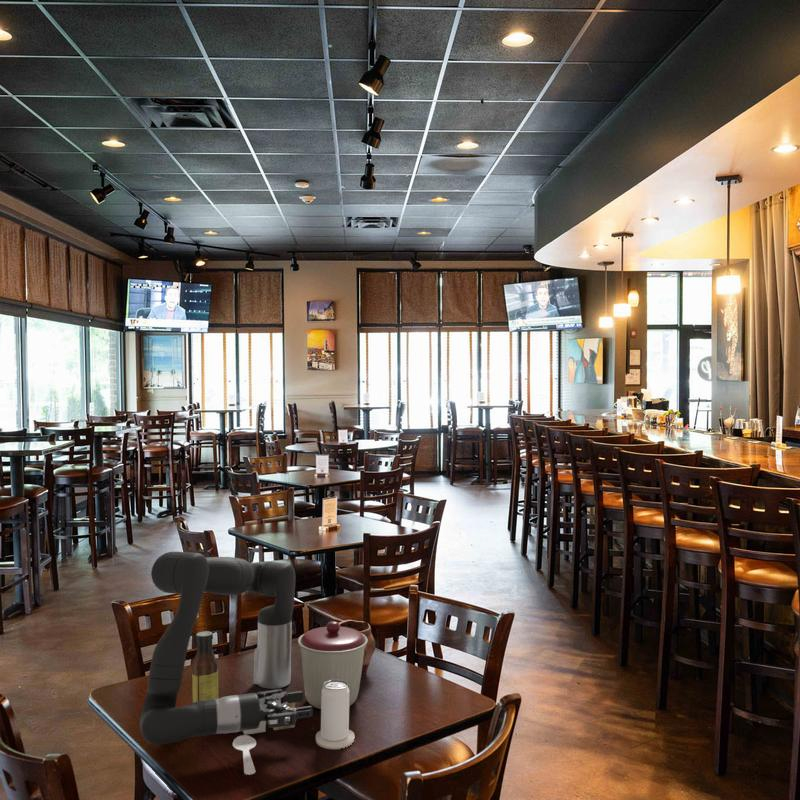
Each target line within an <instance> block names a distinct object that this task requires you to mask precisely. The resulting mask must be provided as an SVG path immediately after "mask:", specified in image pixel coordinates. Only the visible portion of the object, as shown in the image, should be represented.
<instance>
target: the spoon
mask: <svg viewBox="0 0 800 800" xmlns="http://www.w3.org/2000/svg"><path fill="white" fill-rule="evenodd" d="M256 745H257V740H256V739H255V738H254V737H252V736H250V735H248V734H247V735H244V734H242V735H239V736H237V737H235V738H234V739H233V742H232V747H233V748H234V749H235V750H237V751H241V752H242V760H243V761H242V762H243V773H244V774H245V775H249V776H250V775H253V774H255V773H256V768H255V765H254V762H253V758H252V756H251V753H250V750H252V749H254V748H255V747H256Z"/></svg>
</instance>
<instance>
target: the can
mask: <svg viewBox="0 0 800 800" xmlns="http://www.w3.org/2000/svg"><path fill="white" fill-rule="evenodd" d="M349 726H350V706H349V689H348V684H347V682H345V681H342V680H330V681H327V682H325V683H324V687H323V689H322V695H321V709H320V730H321V736H322V738H323V739H325V740H327V741H331V742H337V741H342V740H344V739H346V737H347V736H348V732H349V730H350V729H349V728H350V727H349Z"/></svg>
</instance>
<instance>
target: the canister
mask: <svg viewBox="0 0 800 800" xmlns="http://www.w3.org/2000/svg"><path fill="white" fill-rule="evenodd" d="M339 623H340V622H337V621H333V620H331V621H329V622H328V623H327V624H326V626H320V627H316V628H313V629H311V630H308V631H306V632H305V633H303V634H302V635H300V636H299V637H298V638H297V644H298V646H299V647H300V656H301V668H302V678H303V680H302V681H303V689H304V695H305V698H306V701H307V702H308V704H309V706H312V708H316V709H318V710H321V695H322V689H323V687H324V683H325V682H327V681H330V680H342V681H345V682H347V684H348V689H349V707H351V705H353V704H354V703H355V702H356V700H357V699H358V696H359V692H360V691H359V690H360V684H361V677H362V675H361V672H362V665H363V657H364V649H365V645H366V644H367V642H368V639H367V637H366V636H365V635H364V634H362V633H360V632H359V631H357V630H354V629H351V628H347V627H340V625H339Z"/></svg>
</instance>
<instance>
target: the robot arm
mask: <svg viewBox="0 0 800 800" xmlns="http://www.w3.org/2000/svg"><path fill="white" fill-rule="evenodd" d="M150 575H151V580H152V582H153V584H154V587H156V588H157V589H158V590H160V591H161V592H164V593H165V594H166V593H167V594H175V595H176V594H177V595H180V600H179V605H178V608H177V611H176V612H175V613H176V614H175V615H174V618H173V619H172V620H171V622H170V623H169V625H168V627H167V628H166V630H165V631H164V632H163V634H162V636H161V637H160V638H159V640H158V642H157V643H156V645H155V647H154V650H153V653H152V656H151V662H150V668H149V672H148V679H147V689H146V693H145V696H144V701H143V705H142V709H141V714H140V717H139V718H140V719H139V730H140V733H141V736H142V738H143V739H144V741H146V743H148V744H151V745H155V746H156V745H157V746H158V745H159V746H161V745H165V744H171V743H175V742H179V741H182V740H186V739H190V738H193V737H202V736H210V735H211V736H212V735H216V734H217V735H218V734H230V733H238V732H243V731H246V730H253V729H257V728H258V727H259V723H260V722H261V721H266V722H267V728H269V729H273V728H274V727H282V726H290V725H295V726H296V722H297V719H298V720H299V719H304V718H311V717H313V715H314V707H313V706H312V705H307V706H301V707H300V706H299V707H295V708H291V707H288V706H287V705H285V704H286V702H287V703H295V704H296V703H300V702H303V701H304V692H303V691H301V690H299V691H298V690H297V691H291V692H287V691H283V689H281V688H284V687H287V686H289V685H290V684H291V678H292V676H291V675H292V673H291V672H292V635H293V634H292V629H293V628H292V623H293V622H292V621H293V612H294V608H295V593H296V592H295V591H296V571H295V568H294V566H293V565H292V564H290V563H285V562H279V561H278V562H277V561H267V560H266V561H256V562H249V561H248V560H246V559H244V558H239V557H233V556H209V557H208V556H207V557H206V556H205V555H204V554H202V553H199V552H190V551H189V552H187V551H168V552H165V553H163V554H161V555H159V556H158V558H156V560H155V561H154V563H153V565H152V567H151V571H150ZM246 592H251V593H253V594H254V593H255V594H259V595H262V596H267V597H274V604H271V605H269V606H265V607H263V608H261V609H259V611H258V612H257V613H258V615H257V646H256V648H255V649H254V650H253V651H254V652H253V653H254V654H253V685H257V686H258V687H260V688H263V689H271V690H265V691H257V693H256V692H250V693H243V694H241V693H240V694H234V695H227V696H222V697H218V699H212V700H205V701H198V702H194V703H193V702H191V703H190V704H189V705H182V706H177V705H176V704H177V698H178V693H179V691H180V689H181V686H182V682H183V681H182V680H183V677H184V676H183V675H184V669H185V663H186V657H187V653H188V647H189V643H190V640H191V636H192V632H193V629H194V627H195V623H196V621H197V617H198V615H199V612H200V607H201V605H202V602H203V597H204V594H205V593H209V594H214V595H221V596H239V595H242V594H244V593H246ZM286 720H288V721H286ZM285 721H286V722H285Z"/></svg>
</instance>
